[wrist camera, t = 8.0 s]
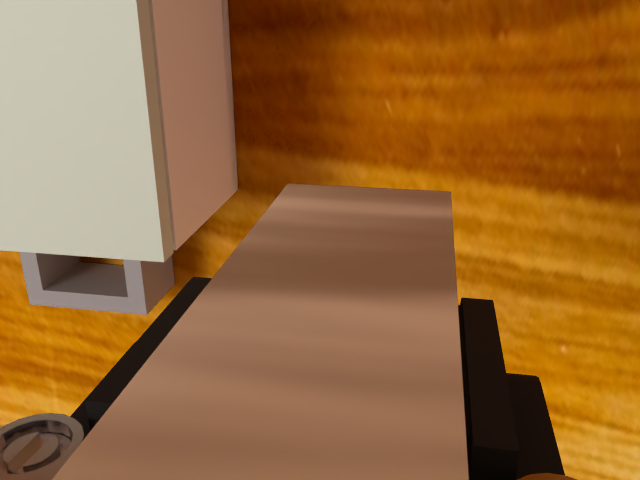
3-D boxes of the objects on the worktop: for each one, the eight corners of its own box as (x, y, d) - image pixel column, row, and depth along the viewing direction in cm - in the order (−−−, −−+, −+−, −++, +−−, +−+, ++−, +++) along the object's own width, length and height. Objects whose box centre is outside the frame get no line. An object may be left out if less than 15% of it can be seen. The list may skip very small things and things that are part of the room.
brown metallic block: (287, 183, 15) (-93, 661, 4) (450, 191, 15) (487, 778, 4) (291, 323, 17) (13, 942, 6) (439, 336, 16) (440, 1063, 5)
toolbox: (-99, -219, 30) (-302, -300, 22) (214, -240, 27) (118, -341, 19) (5, 270, 40) (-107, 342, 31) (243, 289, 37) (188, 373, 29)
